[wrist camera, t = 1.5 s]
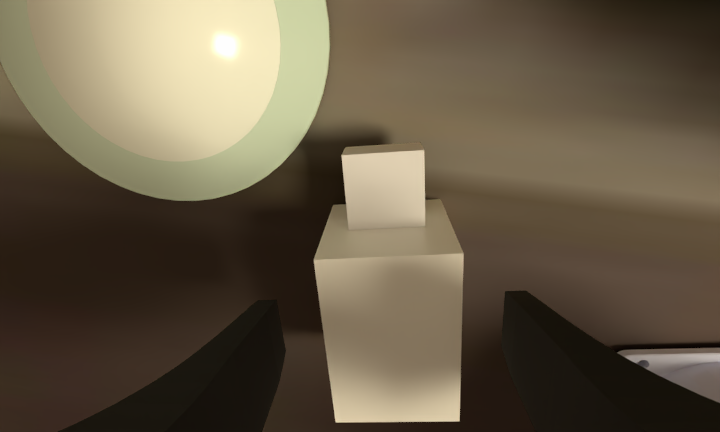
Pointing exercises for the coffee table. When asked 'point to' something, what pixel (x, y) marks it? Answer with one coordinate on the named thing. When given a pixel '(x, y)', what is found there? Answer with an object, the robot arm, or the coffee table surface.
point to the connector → (390, 292)
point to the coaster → (170, 86)
